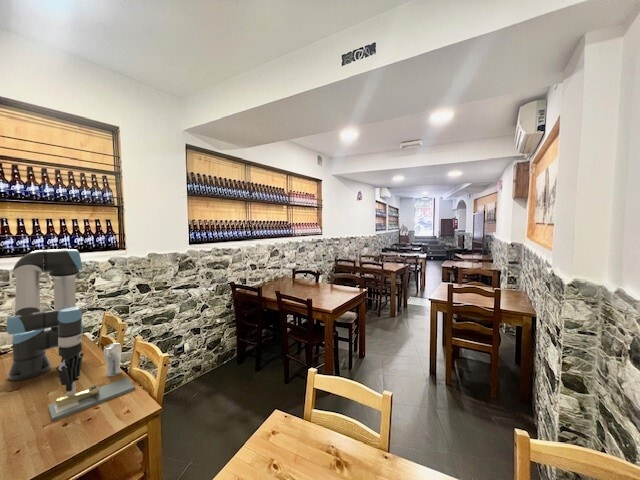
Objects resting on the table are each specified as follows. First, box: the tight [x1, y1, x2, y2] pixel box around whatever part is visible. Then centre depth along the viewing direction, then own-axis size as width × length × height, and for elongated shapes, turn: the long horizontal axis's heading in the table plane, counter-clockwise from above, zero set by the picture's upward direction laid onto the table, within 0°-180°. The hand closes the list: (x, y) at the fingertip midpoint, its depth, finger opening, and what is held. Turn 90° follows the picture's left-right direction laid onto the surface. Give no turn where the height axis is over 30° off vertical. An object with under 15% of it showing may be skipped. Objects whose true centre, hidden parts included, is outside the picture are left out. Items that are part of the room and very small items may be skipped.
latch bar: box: [55, 385, 100, 407], centre depth 117 cm, size 4×14×4 cm, turn 130°
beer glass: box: [104, 342, 122, 378], centre depth 140 cm, size 7×7×15 cm
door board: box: [48, 377, 136, 422], centre depth 121 cm, size 12×28×1 cm, turn 140°
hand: (71, 396), depth 118 cm, fingers closed
